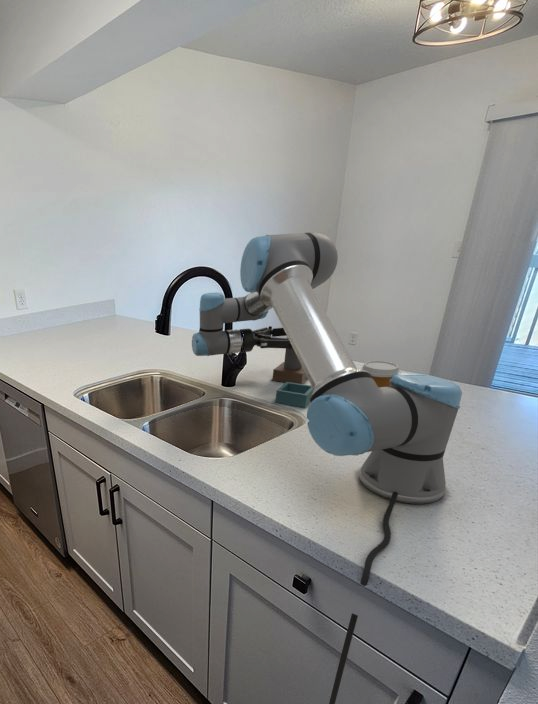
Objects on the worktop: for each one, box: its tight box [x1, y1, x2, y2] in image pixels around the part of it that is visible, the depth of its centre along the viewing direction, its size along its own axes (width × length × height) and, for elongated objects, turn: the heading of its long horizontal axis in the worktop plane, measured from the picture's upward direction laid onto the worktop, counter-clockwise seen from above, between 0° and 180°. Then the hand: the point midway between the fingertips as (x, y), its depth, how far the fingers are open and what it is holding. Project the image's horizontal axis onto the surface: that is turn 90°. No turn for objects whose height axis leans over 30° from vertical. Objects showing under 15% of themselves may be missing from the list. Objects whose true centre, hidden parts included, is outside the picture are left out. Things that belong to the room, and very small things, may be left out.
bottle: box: [283, 336, 302, 370], centre depth 147 cm, size 6×6×15 cm
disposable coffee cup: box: [361, 360, 400, 387], centre depth 126 cm, size 10×10×12 cm
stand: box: [271, 361, 308, 384], centre depth 151 cm, size 10×10×4 cm
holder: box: [274, 382, 314, 409], centre depth 133 cm, size 9×9×4 cm
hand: (300, 335), depth 145 cm, fingers open, 13 cm apart
